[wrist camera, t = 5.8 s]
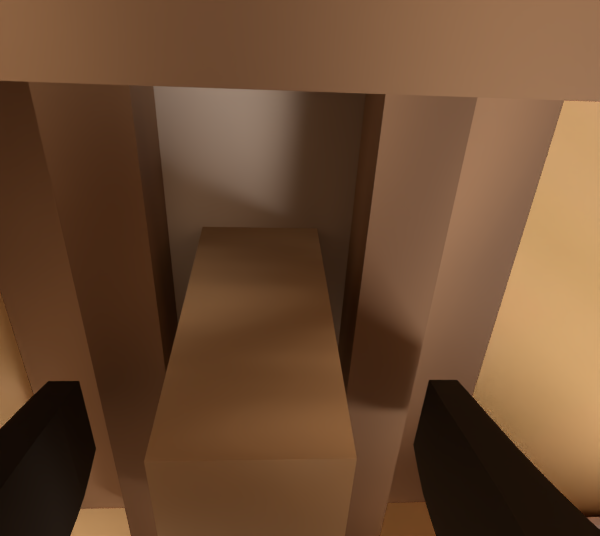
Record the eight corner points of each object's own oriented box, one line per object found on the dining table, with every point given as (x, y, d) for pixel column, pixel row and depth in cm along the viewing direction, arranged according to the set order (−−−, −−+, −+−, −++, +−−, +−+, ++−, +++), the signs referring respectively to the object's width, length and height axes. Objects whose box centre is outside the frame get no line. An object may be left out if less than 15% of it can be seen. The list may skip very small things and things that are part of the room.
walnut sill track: (583, -42, 9) (841, -42, 5) (432, 480, 18) (484, 647, 13) (-90, -80, 9) (-437, -114, 4) (78, 486, 17) (13, 666, 12)
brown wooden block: (319, 228, 11) (360, 458, 6) (304, 441, 15) (322, 696, 10) (200, 226, 11) (140, 461, 6) (215, 442, 15) (185, 702, 10)
